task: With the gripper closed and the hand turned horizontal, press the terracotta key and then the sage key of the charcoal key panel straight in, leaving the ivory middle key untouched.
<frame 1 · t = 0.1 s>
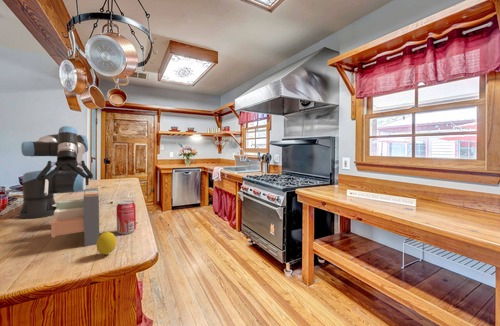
hand: (66, 192, 102), 15 cm above the kitchen island, tool tilted 35°, fingers open, 13 cm apart
soda can: (126, 232, 96), on the kitchen island
ivory key: (76, 214, 88), point 9 cm above the kitchen island, slide at 0.0 cm
sage key: (77, 205, 93), point 12 cm above the kitchen island, slide at 0.0 cm
lemon: (106, 255, 75), on the kitchen island
terracotta key: (75, 224, 82), point 7 cm above the kitchen island, slide at 0.0 cm
key panel: (92, 236, 91), on the kitchen island
coffee mug: (68, 225, 104), on the kitchen island
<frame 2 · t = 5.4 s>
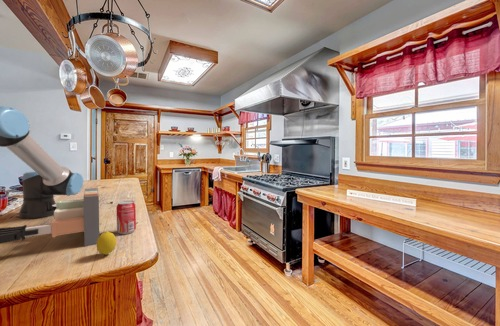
hand: (51, 228, 78), 7 cm above the kitchen island, tool horizontal, fingers closed
terracotta key: (76, 224, 82), point 7 cm above the kitchen island, slide at 0.2 cm, touching gripper
everything else where it was.
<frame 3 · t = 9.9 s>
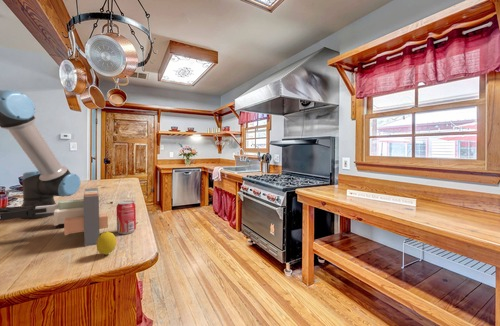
hand: (58, 208, 90), 11 cm above the kitchen island, tool horizontal, fingers closed
sage key: (79, 205, 94), point 11 cm above the kitchen island, slide at 0.6 cm, touching gripper
terracotta key: (87, 223, 84), point 7 cm above the kitchen island, slide at 3.4 cm
everything else where it was.
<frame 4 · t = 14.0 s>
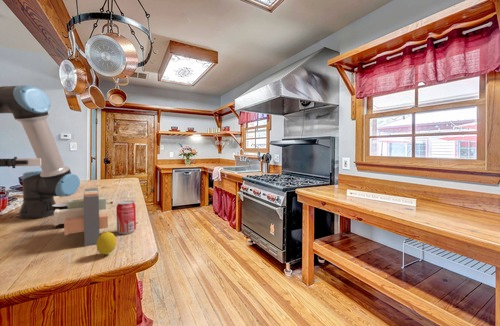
hand: (40, 162, 85), 30 cm above the kitchen island, tool horizontal, fingers closed
sage key: (87, 204, 95), point 12 cm above the kitchen island, slide at 3.4 cm
everything else where it was.
at the end: terracotta key slide at 3.4 cm; sage key slide at 3.4 cm; ivory key slide at 0.0 cm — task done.
